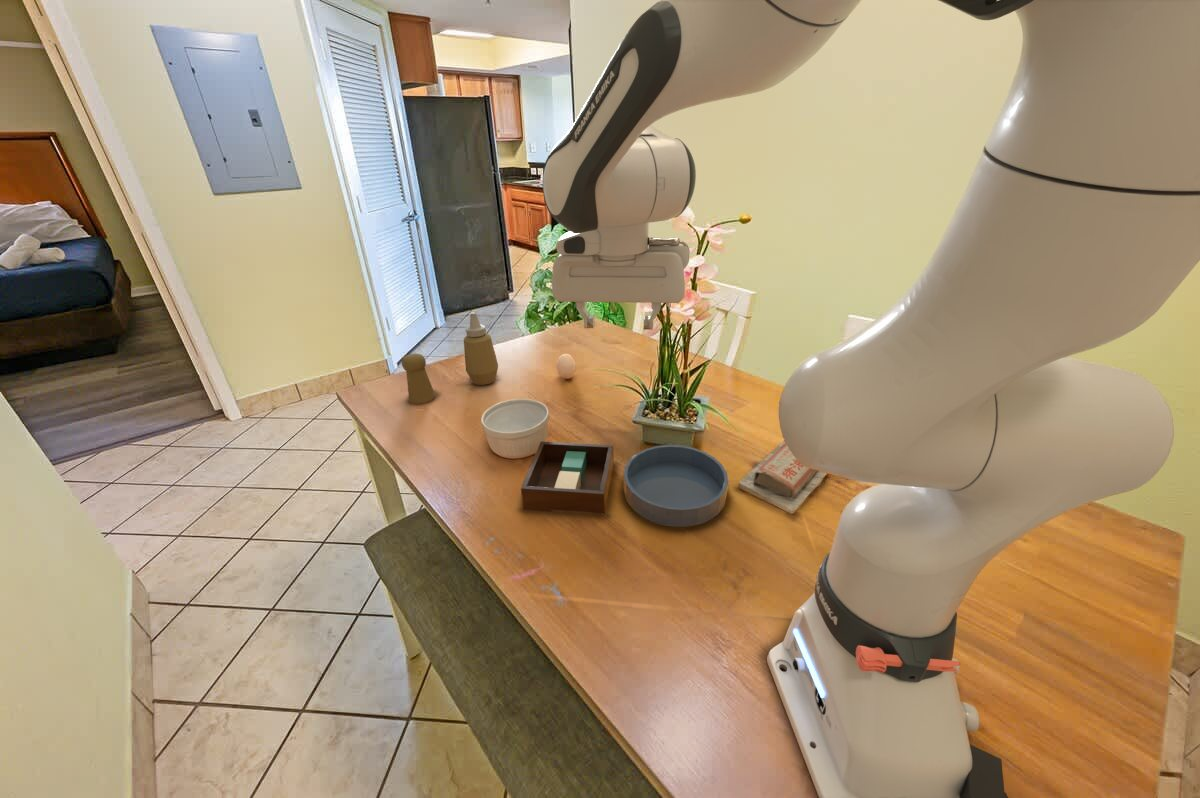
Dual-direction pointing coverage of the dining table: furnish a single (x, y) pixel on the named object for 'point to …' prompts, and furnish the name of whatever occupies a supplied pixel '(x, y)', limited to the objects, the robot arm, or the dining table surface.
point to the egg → (566, 366)
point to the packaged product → (782, 480)
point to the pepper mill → (417, 379)
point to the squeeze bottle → (479, 353)
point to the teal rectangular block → (575, 462)
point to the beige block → (568, 480)
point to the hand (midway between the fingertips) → (618, 327)
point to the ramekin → (516, 427)
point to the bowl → (675, 485)
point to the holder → (546, 497)
